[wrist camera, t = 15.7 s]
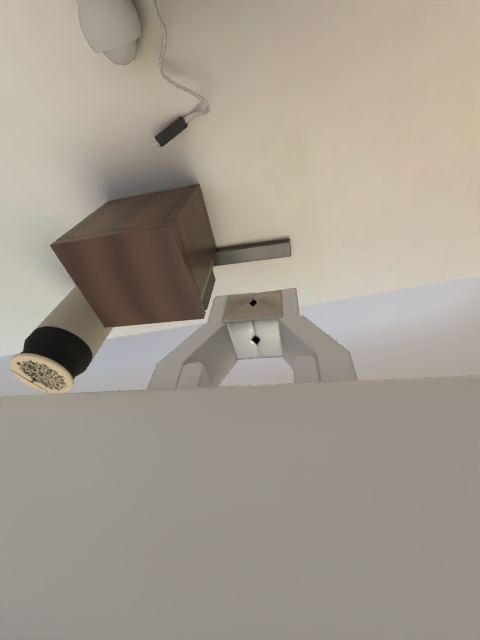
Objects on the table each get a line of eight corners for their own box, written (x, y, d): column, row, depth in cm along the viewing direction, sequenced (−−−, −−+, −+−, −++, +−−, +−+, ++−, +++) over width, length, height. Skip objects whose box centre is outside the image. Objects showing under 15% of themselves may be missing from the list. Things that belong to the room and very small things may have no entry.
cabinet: (283, 167, 33) (287, 206, 24) (290, 253, 40) (296, 310, 31) (107, 201, 38) (49, 245, 28) (141, 272, 45) (104, 328, 35)
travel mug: (107, 265, 45) (35, 347, 31) (138, 302, 49) (87, 388, 36) (72, 281, 47) (-9, 362, 34) (104, 315, 52) (45, 399, 38)
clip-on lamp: (235, 112, 33) (173, -201, 19) (238, 133, 29) (163, -242, 15) (142, 139, 34) (21, -131, 20) (132, 162, 31) (-25, -151, 17)
